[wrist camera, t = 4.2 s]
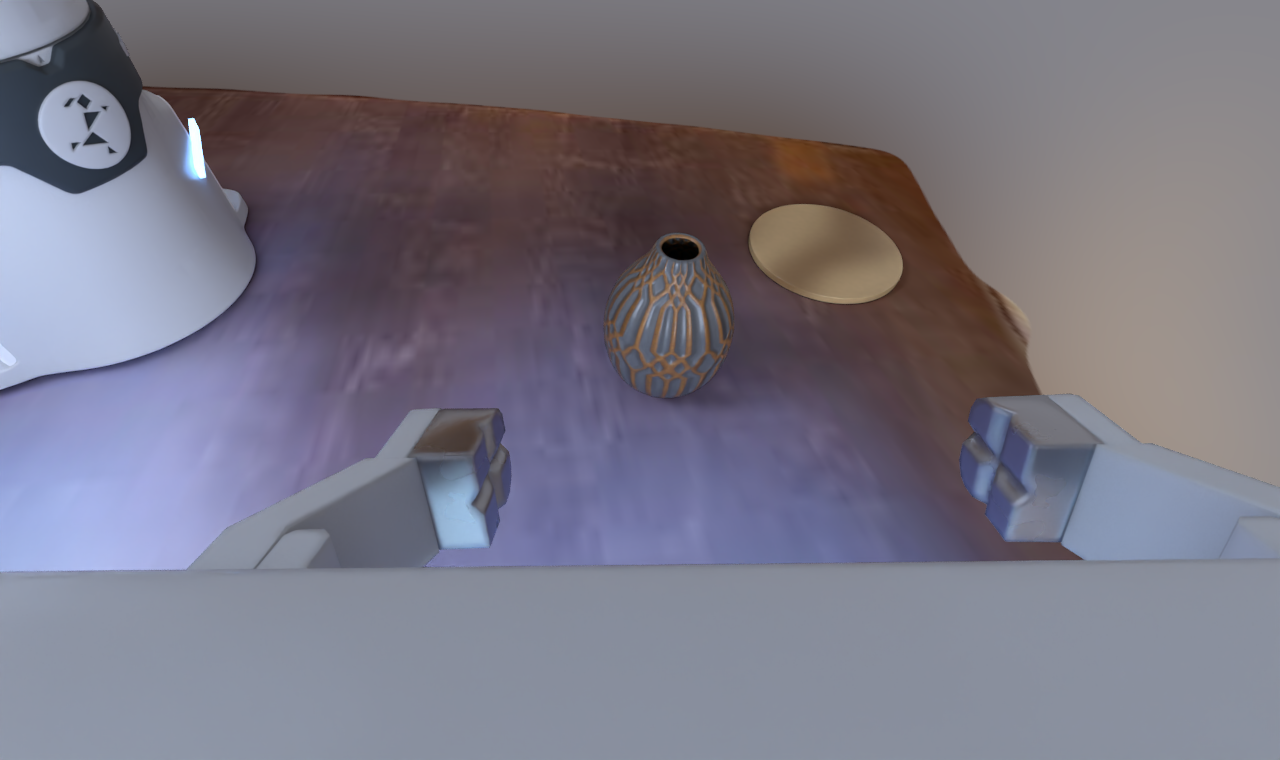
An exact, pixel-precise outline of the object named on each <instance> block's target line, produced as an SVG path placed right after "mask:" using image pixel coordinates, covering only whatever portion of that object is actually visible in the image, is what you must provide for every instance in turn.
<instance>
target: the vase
mask: <svg viewBox="0 0 1280 760" xmlns="http://www.w3.org/2000/svg"><path fill="white" fill-rule="evenodd" d="M733 332H734V309H733V303H732V298H731V295H730V292H729V289H728V287H727V285H726V283H725V281H724V280H723V278H722V277H721V275H720V274H719V272H718V271H717V270H716V268H715V267H714V266H713V264H712V263H711V262H710V260H709V258H708V255H707V252H706V248H705V246H704V244H703V243H702V242H701V241H700V240H699V239H698V238H696V237H694V236H692V235H689V234H685V233H669V234H666V235H664V236H662V237H660V238H659V239H658V240H657V241H656V243H655V244H654V246H653V247H652V249H651V250H650V251H649V252H648V253H646V254H645V255H643V256H642V257H641V258H639V259H638V260H637V261H635V262H634V263H633V264H631V265H630V266H629V267H628V268H627V269H626V270H625V271H624V272H623V273H622V274H621V276H620V277H619V279H618V280H617V282H616V283H615V285H614V287H613V289H612V291H611V294H610V296H609V299H608V302H607V305H606V309H605V315H604V340H605V346H606V349H607V353H608V356H609V358H610V361H611V363H612V365H613V367H614V368H615V370H616V372H617V373H618V374H619V376H620V377H621V378H622V379H623V380H624V381H625V382H626V383H627V384H629V385H630V386H631V387H633V388H634V389H636V390H638V391H640V392H642V393H644V394H647V395H650V396H654V397H661V398H673V397H679V396H683V395H686V394H689V393H692V392H694V391H696V390H698V389H699V388H701V387H702V386H704V385H705V384H706V383H707V382H708V381H710V380H711V378H712V377H713V376H714V375H715V374H716V373H717V371H718V370H719V369H720V367H721V365H722V364H723V362H724V360H725V358H726V356H727V354H728V351H729V348H730V345H731V342H732V337H733Z"/></svg>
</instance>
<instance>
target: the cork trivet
mask: <svg viewBox="0 0 1280 760" xmlns="http://www.w3.org/2000/svg"><path fill="white" fill-rule="evenodd" d="M749 250H750V253H751V255H752V258H753V259H754V261H755V263H756V264H757V265H758V267H759V268H760V269H761V270H762V271H763V272H764V273H765V274H766V275H767V276H768V277H770V278H771V279H772V280H773V281H775V282H776V283H778V284H779V285H781V286H783V287H784V288H786V289H788V290H790V291H792V292H794V293H797V294H799V295H802V296H804V297H808V298H811V299H814V300H818V301H823V302H829V303H837V304H857V303H864V302H868V301H872V300H875V299H878V298H880V297H882V296H884V295H886V294H887V293H889V292H890V291H891V290H892V289H893V288H894V287H895V286H896V284H897V283H898V281H899V279H900V277H901V275H902V270H903V261H902V257H901V254H900V252H899V250H898V248H897V247H896V245H895V243H894V242H893V241H892V240H891V239H890V238H889V237H888V236H887V235H886V234H885V233H884V232H883V231H882V230H880V229H879V228H878V227H876V226H875V225H873V224H872V223H870V222H868V221H867V220H865V219H863V218H861V217H859V216H856V215H854V214H852V213H849V212H846V211H843V210H840V209H836V208H832V207H828V206H822V205H813V204H794V205H786V206H781V207H778V208H775V209H772V210H770V211H768V212H766V213H764V214H763V215H761V216H760V217H759V218H758V219H757V220H756V221H755V223H754V224H753V226H752V228H751V231H750V235H749Z"/></svg>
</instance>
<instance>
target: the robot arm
mask: <svg viewBox="0 0 1280 760" xmlns="http://www.w3.org/2000/svg"><path fill="white" fill-rule="evenodd" d="M127 50H128V49H127V47H126V45H125V44H124V42H123V40H122V39H121V36H120V35H119V33H117V32H116V30H115V29H114V28H113V27H112V26H111V24H110V22H109V20H108V19H107V17H106V15H105V14H104V12H103V10H102V8H101V7H100V6H99V5H98V4H97V3H96V2H94V1H93V0H0V390H1V389H4V388H7V387H10V386H13V385H16V384H19V383H22V382H24V381H27V380H30V379H33V378H36V377H39V376H44V375H49V374H55V373H62V372H70V371H78V370H86V369H92V368H98V367H103V366H108V365H112V364H116V363H120V362H124V361H127V360H131V359H134V358H137V357H140V356H143V355H146V354H149V353H152V352H154V351H157V350H160V349H162V348H164V347H167V346H169V345H171V344H173V343H175V342H177V341H179V340H181V339H183V338H185V337H187V336H189V335H191V334H193V333H194V332H196V331H198V330H199V329H201V328H202V327H204V326H206V325H207V324H209V323H210V322H211V321H213V320H214V319H216V318H217V317H218V316H219V315H221V314H222V313H223V312H224V311H225V310H227V309H228V308H229V307H230V306H231V305H232V304H233V303H234V302H235V301H236V300H237V298H238V297H239V296H240V295H241V294H242V292H243V291H244V290H245V288H246V287H247V285H248V283H249V282H250V280H251V277H252V275H253V272H254V269H255V263H256V255H255V250H254V247H253V244H252V243H251V241H250V239H249V237H248V236H247V234H246V232H245V229H244V225H245V222H246V218H247V214H248V206H247V205H246V203H245V201H244V200H243V198H242V197H241V195H240V194H239V193H238V192H236V191H234V190H230V189H223V188H222V187H221V186H220V184H219V182H218V181H217V179H216V177H215V176H214V174H213V173H212V171H211V169H210V168H209V166H208V164H207V163H206V161H205V160H204V158H203V153H202V146H201V139H200V132H199V128H198V126H197V124H196V122H195V120H194V118H192V119H188V122H189V130H190V136H189V134H188V132H187V131H186V129H185V128H184V126H183V124H182V123H181V121H180V120H179V118H178V116H177V115H176V113H175V112H174V110H173V109H172V107H171V106H170V105H169V103H168V102H167V101H166V100H164V99H163V98H162V97H160V96H158V95H155V94H153V93H151V92H148V91H146V90H142V81H141V78H140V76H139V75H138V73H137V71H136V69H135V67H134V65H133V63H132V61H131V60H130V58H129V52H128V51H127ZM968 422H969V423H970V425H971V427H972V428H973V430H974V433H973V434H972V435H971V436H970V437H969V438H968V439H966V440H965V441H964V442H963V444H962V449H961V454H960V459H959V462H960V472H961V477H962V480H963V482H964V485H965V487H966V489H967V490H968V491H969V493H970V494H971V496H972V497H974V498H976V499H978V500H980V501H982V502H983V503H985V504H987V508H986V511H985V515H986V516H987V517H988V519H989V520H990V521H991V523H992V524H993V525H994V527H995V528H996V529H997V531H998V532H999V533H1000V535H1001V536H1002V537H1003V539H1004V540H1005V541H1011V542H1062V543H1061V545H1063V546H1064V547H1066V548H1067V549H1069V550H1070V551H1072V552H1073V553H1075V554H1077V555H1078V556H1080V557H1081V558H1083V559H1084V560H1053V561H961V562H869V563H775V564H681V565H587V566H493V567H423V566H424V565H425V564H427V563H428V562H429V561H430V560H431V559H432V558H433V557H435V556H436V555H437V554H438V553H439V550H441V549H466V548H490V546H491V544H492V541H493V538H494V535H495V533H496V530H497V527H498V525H499V522H500V518H499V513H498V509H499V508H501V507H502V506H503V505H505V504H506V502H507V499H508V496H509V493H510V485H511V461H510V455H509V451H508V450H507V449H506V448H505V447H504V446H503V445H502V444H501V443H500V442H501V440H502V438H503V435H504V433H505V426H504V421H503V416H502V413H501V412H500V410H499V409H498V408H473V409H441V408H432V409H415V410H411V411H410V412H409V413H408V415H407V416H406V417H405V419H404V420H403V421H402V423H401V424H400V425H399V427H398V428H397V429H396V431H395V432H394V433H393V435H392V436H391V437H390V439H389V440H388V441H387V443H386V444H385V445H384V447H383V448H382V449H381V451H380V452H379V453H378V455H377V456H376V457H375V458H366V459H364V460H362V461H360V462H358V463H356V464H354V465H352V466H350V467H348V468H346V469H344V470H342V471H340V472H338V473H336V474H334V475H332V476H330V477H328V478H326V479H324V480H322V481H320V482H318V483H316V484H314V485H312V486H310V487H308V488H306V489H304V490H302V491H300V492H298V493H296V494H294V495H292V496H290V497H288V498H286V499H284V500H282V501H280V502H278V503H276V504H274V505H272V506H270V507H268V508H266V509H264V510H262V511H260V512H258V513H256V514H254V515H251V516H249V517H247V518H245V519H243V520H241V521H239V522H237V523H235V524H233V525H231V526H229V527H227V528H226V529H225V530H224V531H223V532H222V533H221V534H220V535H219V536H218V537H217V538H216V539H215V540H214V541H213V542H212V543H211V544H210V545H209V546H208V548H207V549H206V550H205V551H204V552H203V553H202V554H201V555H200V556H199V557H198V558H197V559H196V560H195V561H194V562H193V563H192V564H191V565H190V566H189V567H188V568H187V569H186V570H111V571H15V572H0V760H1280V487H1277V486H1274V485H1272V484H1269V483H1266V482H1263V481H1260V480H1257V479H1254V478H1251V477H1248V476H1245V475H1242V474H1240V473H1237V472H1234V471H1231V470H1228V469H1225V468H1222V467H1219V466H1216V465H1214V464H1211V463H1208V462H1204V461H1202V460H1199V459H1196V458H1193V457H1190V456H1187V455H1184V454H1181V453H1179V452H1175V451H1173V450H1170V449H1167V448H1164V447H1161V446H1158V445H1155V444H1152V443H1148V444H1142V443H1140V442H1139V441H1138V440H1137V439H1135V438H1134V437H1133V436H1131V435H1130V434H1129V433H1127V432H1126V431H1125V430H1123V429H1122V428H1121V427H1120V426H1118V425H1117V424H1115V423H1114V422H1113V421H1112V420H1110V419H1109V418H1108V417H1106V416H1105V415H1104V414H1103V413H1101V412H1100V411H1099V410H1097V409H1096V408H1095V407H1093V406H1092V405H1091V404H1089V403H1088V402H1087V401H1086V400H1084V399H1083V398H1082V397H1080V396H1078V395H1073V394H1056V395H1031V396H1009V397H988V398H980V399H976V401H975V402H974V404H973V406H972V407H971V411H970V414H969V418H968Z"/></svg>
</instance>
